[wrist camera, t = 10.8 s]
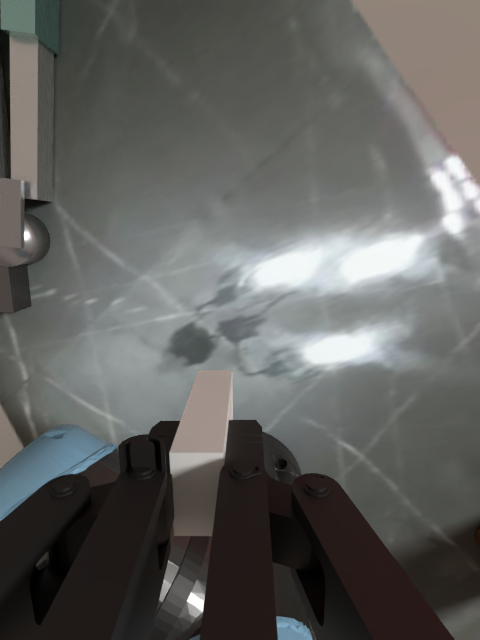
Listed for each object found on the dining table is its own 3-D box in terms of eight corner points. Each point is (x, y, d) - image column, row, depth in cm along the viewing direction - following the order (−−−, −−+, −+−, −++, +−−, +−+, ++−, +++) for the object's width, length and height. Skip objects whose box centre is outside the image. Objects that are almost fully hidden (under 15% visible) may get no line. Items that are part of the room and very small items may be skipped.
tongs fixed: (56, 306, 42) (35, 315, 38) (3, 305, 42) (-24, 314, 38) (25, -14, 35) (-5, -46, 31) (-39, -14, 35) (-77, -46, 31)
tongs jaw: (55, 247, 40) (34, 250, 36) (21, 243, 40) (-4, 245, 36) (59, -9, 35) (35, -39, 31) (20, -15, 35) (-10, -45, 31)
